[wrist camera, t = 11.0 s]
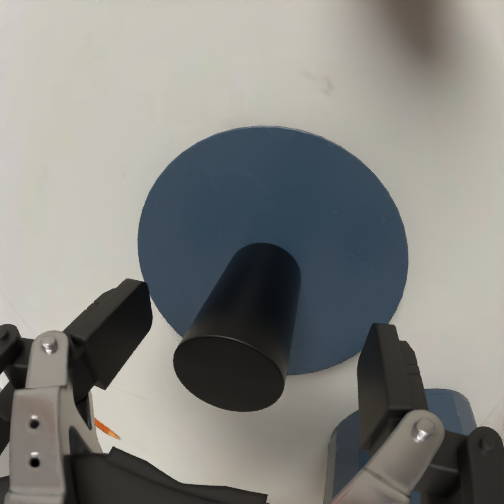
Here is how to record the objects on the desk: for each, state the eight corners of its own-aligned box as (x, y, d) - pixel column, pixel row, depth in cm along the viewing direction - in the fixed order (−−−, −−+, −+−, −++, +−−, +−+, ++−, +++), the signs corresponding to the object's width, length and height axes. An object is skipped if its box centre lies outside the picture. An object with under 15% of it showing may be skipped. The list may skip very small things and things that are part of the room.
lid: (428, 152, 10) (530, 193, 4) (362, 374, 16) (366, 481, 9) (144, 122, 12) (22, 141, 6) (159, 337, 18) (102, 421, 11)
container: (496, 386, 14) (526, 479, 7) (428, 462, 19) (433, 535, 12) (357, 384, 16) (356, 512, 9) (315, 461, 21) (303, 544, 14)
